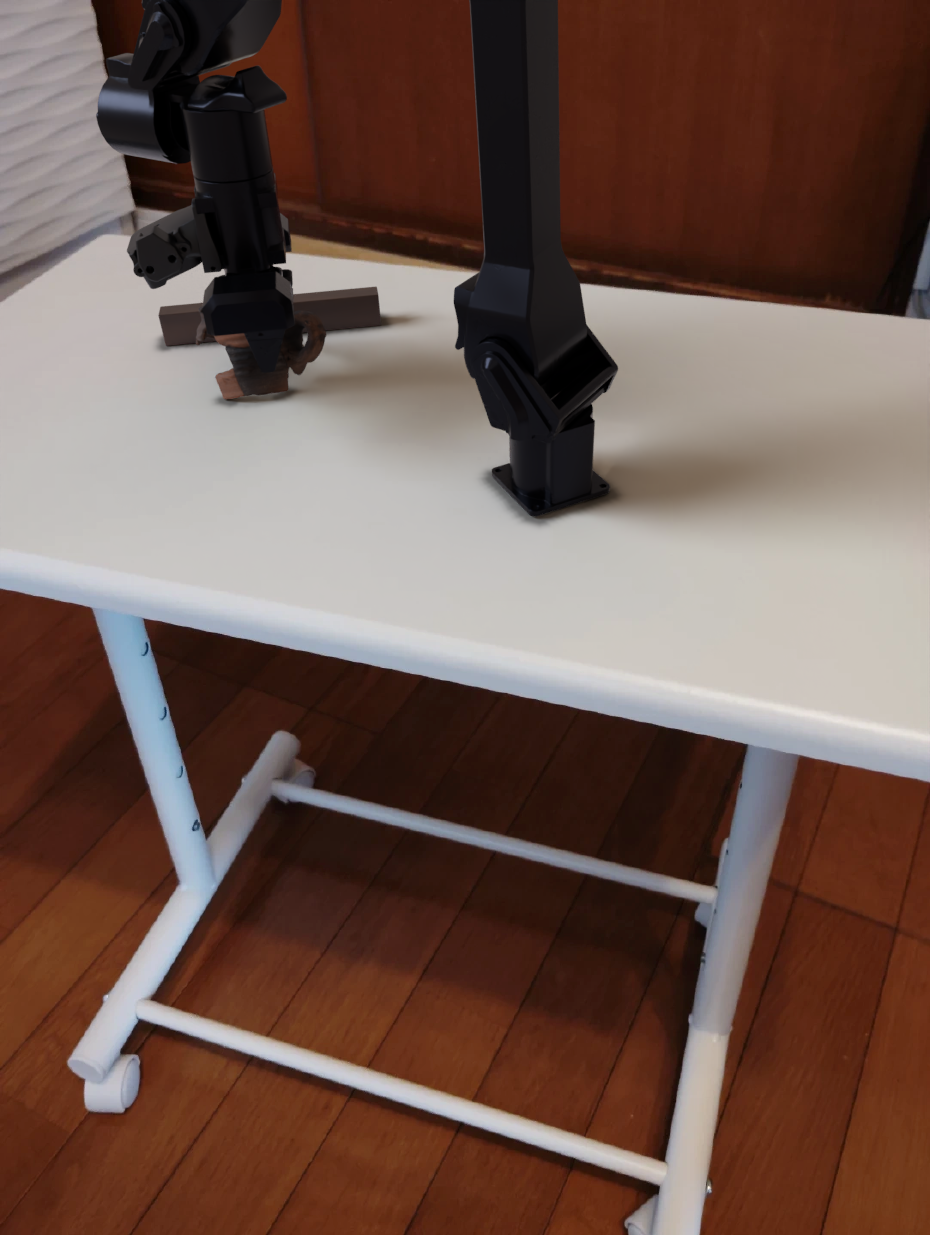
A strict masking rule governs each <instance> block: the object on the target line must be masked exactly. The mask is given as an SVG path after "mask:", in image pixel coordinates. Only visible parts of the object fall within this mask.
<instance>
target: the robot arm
mask: <svg viewBox="0 0 930 1235" xmlns="http://www.w3.org/2000/svg"><path fill="white" fill-rule="evenodd" d="M468 1H469V15H470V16H469V17H470V31H471V32H470V35H471V49H472V50H471V51H472V65H473V66H472V68H473V84H474V85H473V86H474V99H475V102H474V103H475V118H476V135H477V152H478V167H479V170H478V171H479V186H480V200H481V201H480V203H481V218H482V219H481V220H482V235H483V236H482V237H483V238H482V239H483V259H482V262H481V266H480V269H479V272H477V273H475V274H473V275H472V276H470V277H469V278H467V279H466V280H465V281H463V282H462V283H460V284H458V285H456V286H455V287H454V290H453V307H454V311H455V315H456V321H457V337H456V341H455V344H454V348H455V349H456V350H457V351H459V350H461V349H463V358H464V363H465V368H466V370H467V372H468V374H469V376H470V378H471V379H473V380H474V381H475V385H476V387H477V390H478V393H479V396H480V399H481V401H482V405H483V407H484V410H485V414H486V416H487V419H488V423H489V424H490V426H491V428H494V429H498V430H501V431H504V432H505V433H506V434H508V436H509V439H508V440H509V441H508V442H509V444H508V446H509V463H505V464H501V465H498V466H496V467H493V468H492V469H491V477H492V478H493V479H494V481H495V482H496V483H498V485H500V487H502V488H503V490H504V491H505V492H506V493H507V494H508V495H509V496H510V497H511V498H512V499H513V500H514V501H515V502H516V503H517V504H518V505H519V506H520V507H521V508H523V510H524V511H525V512H526V513H527V514H528V515H529V516H531V517H540V516H543V515H546V514H550V513H552V512H555V511H558V510H562V509H566V508H568V507H571V506H574V505H577V504H580V503H583V502H586V501H589V500H592V499H596V498H599V497H601V496H605V495H608V494H609V493H610V492H611V491H610V490H611V485H610V484H609V482H607V481H606V480H605V479H604V478H603V477H602V476H601V475H599V474H598V473H597V472H596V471H595V470H594V469H593V468H594V467H593V466H594V451H595V449H594V447H595V429H596V427H595V426H596V420H595V419H594V417H593V416H594V407H593V406H594V405H593V403H594V402H595V401H596V400H597V399H598V398H600V397H601V396H602V395H603V394H606V393H607V392H608V391H609V390H610V389H611V387H612V385H613V382H614V380H615V378H616V376H617V373H618V371H619V366H618V364H617V363H616V362H615V360H614V359H613V358H612V356H611V355H610V354H609V352H608V351H607V349H606V348H605V347H604V346H603V344H602V343H601V342H600V340H599V339H598V337H596V335H595V334H594V332H593V331H592V330H591V328H590V327H589V325H588V324H587V320H586V319H587V318H586V313H585V312H586V311H585V307H584V306H585V305H584V300H583V293H582V288H581V283H580V280H579V278H578V277H577V274H576V273H575V271H574V268H573V267H572V265H571V263H570V261H569V259H568V258H567V256H566V254H565V252H564V250H563V246H562V240H561V239H562V238H561V237H562V236H561V233H562V232H561V155H560V154H561V153H560V152H561V150H560V149H561V148H560V142H561V141H560V77H559V76H560V73H559V72H560V67H559V65H560V63H559V62H560V61H559V60H560V59H559V58H560V56H559V0H468ZM282 4H283V0H141V7H142V9H143V10H144V11H143V14H142V19H141V22H140V27H139V31H138V35H137V40H136V43H135V45H134V46H135V47H134V51H133V53H130V52H124V53H121V54H118V55H114V56H110V57H108V58H106V60H105V63H106V67H107V71H108V77H107V78H106V80H105V81H104V83H103V84H102V86H101V88H100V91H99V93H98V100H97V112H96V114H95V117H96V123H97V126H98V128H99V132H100V134H101V136H102V137H103V139H104V140H105V142H106V143H107V144H108V145H109V146H110V147H111V149H113V150H114V151H116V152H118V153H119V154H123V155H125V156H132V157H137V158H143V159H148V160H154V161H159V162H160V161H161V162H165V163H172V164H175V165H181V164H182V165H183V164H187V163H190V165H191V170H192V176H193V179H194V188H193V191H194V198H192V199H191V205H187V206H186V207H184V208H179V209H177V210H176V211H173V212H171V213H169V214H167V215H165V216H163V217H161V218H159V219H157V220H155V221H153V222H151V223H149V224H146V225H145V226H143V227H141V228H139V229H138V230H136V231H135V232H134V233H133V234H131V236H130V238H129V241H128V245H127V249H126V253H127V254H128V257H129V258H130V260H131V261H132V264H133V273H134V275H135V276H136V277H138V278H143V280H144V281H145V282H146V283H147V285H148V287H149V288H150V289H151V290H156V289H160V288H161V287H163V286H166V285H167V282H168V281H169V280H172V279H174V278H176V277H178V276H180V275H182V274H184V273H186V272H188V271H191V270H192V269H194V268H196V267H198V266H199V265H200V264H202V267H203V268H202V269H203V273H204V274H210V273H220V272H222V271H223V270H224V274H221V275H219V276H214V278H212V280H211V281H210V282H209V284H208V285H207V287H206V288H205V290H204V292H203V298H202V303H203V306H202V310H203V315H204V320H205V325H206V329H207V334H210V335H213V336H221V335H232V334H242V333H244V335H245V337H246V339H247V341H248V344H249V346H250V348H251V350H252V352H253V355H254V357H255V359H256V361H257V363H258V365H259V368H260V370H261V372H263V373H268V372H274V371H275V369H276V365H277V361H278V357H279V353H280V349H281V345H282V341H283V337H284V333H285V329H288V328H290V327H292V326H294V325H295V314H294V304H293V294H294V288H293V284H294V281H293V270H291V269H289V268H288V269H287V268H283V269H282V268H281V267H279V266H274V265H283V264H287V253H292V252H293V250H292V238H291V231H290V230H291V229H290V224H289V223H290V222H289V218H287V217H286V216H285V215H284V214H282V213H281V211H280V205H279V199H278V198H279V197H278V182H277V176H276V172H274V164H273V157H272V152H271V143H270V138H269V131H268V125H267V117H266V111H265V110H266V109H269V108H273V107H275V106H278V105H281V104H285V102H287V100H288V95H287V92H286V91H284V89H283V88H282V87H281V86H280V85H279V84H278V83H277V82H276V81H274V80H272V79H271V78H270V77H269V76H268V75H267V74H266V73H265V72H264V70H263V69H262V67H261V66H260V65H254V66H250V67H247V68H243V69H240V70H237V71H236V73H235V74H234V75H225V74H213V75H210V76H207V77H205V78H204V79H203V80H201V81H200V76H201V75H204V74H207V73H211V72H214V71H218V70H220V69H224V68H227V67H229V66H230V65H232V64H233V63H235V62H238V61H241V60H244V59H248V58H250V57H253V56H254V55H256V54H258V53H259V52H260V51H261V49H262V48H263V47H264V45H265V43H266V41H267V40H268V38H269V36H270V34H271V33H272V31H273V29H274V27H275V26H276V23H277V22H278V21H279V18H280V17H281V13H282V6H283V5H282Z"/></svg>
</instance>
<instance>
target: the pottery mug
mask: <svg viewBox="0 0 930 1235" xmlns="http://www.w3.org/2000/svg"><path fill="white" fill-rule="evenodd" d="M199 312H200V315H201V320H202V321H201V323H200V325H199V326H198V329H197V336H196V339H197V341H196V343H195V344H196V346H200V345H202V344H203V342H202V341H204V340H205V338H213V339H214V338H215V339H216V341H215V342H217V344H219V345H220V346H223V347H225V348H224V349H225V352H226V354H227V356H228V358H229V362H230V363H231V364H232V367H231V368H230V369H229V370H226V371H223V372H219V373H217V374H216V375H215V380H216V381H215V382H216V383H217V385H218V388H219V391H220V393H221V396H222V398H223V400H232V399H238V398H242V397H249V396H267V395H270V394H279V393H285V392H288V391H289V375H290V374H289V371H290V370H291V371H292V372H293V374H294V375H297V376H301V375H303V373H304V371H305V369H306V367H307V365H308V364H309V363H313V362H314V361H316V359H317V358H318V357H319V356H320V355H321V352H322V351H323V349H324V346H325V342H326V337H327V331H325V329H324V326H323V323H322V321H321V320H320V318H319V317H318V316H317V315H315V314H314V313H312V312H309V311H294V314H295V325H294V326H292V327H290V328H288V329H285V333H284V337H283V341H282V345H281V349H280V353H279V357H278V361H277V365H276V369H275V371H274V372H268V373H263V372H261V370H260V368H259V365H258V363H257V361H256V359H255V357H254V355H253V352H252V350H251V348H250V346H249V344H248V341H247V339H246V337H245V335H244V333H242V334H232V335H221V336H213V335H210V334H207V329H206V325H205V320H204V315H203V310H202V306H201V307H200V308H199ZM304 328H306V330H307V332H306V333H307V337H306V342H305V343H304V344H303V342H304V334H303V329H304Z"/></svg>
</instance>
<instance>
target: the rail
mask: <svg viewBox="0 0 930 1235" xmlns="http://www.w3.org/2000/svg"><path fill="white" fill-rule="evenodd" d="M293 304H294V311H309V312H312V313H314V314H315V315H317V316H318V317H319V318H320V320H321V321H322V323H323V326H324V329H325V332H327V331H335V330H346V329H356V328H357V329H358V328H367V327H379V326H382V319H381V308H380V298H379V291H378V287H377V286H367V287H366V286H365V287H356V288H344V289H335V290H334V289H333V290H322V291H314V292H304V293H303V292H301V293H293ZM201 306H203V302H195V303H186V304H185V303H184V304H176V305H175V304H173V305H162V306H160V307H159V311H158V314H157V315H158V318H159V319H158V320H159V324H160V328H161V332H162V337H163V340H164V345H165V346H166V347H167V346H178V345H179V346H180V345H189V344H190V345H191V344H196V341H197V339H196V336H197V329H198V326H199V325H200V323H201V321H202V320H201V315H200V312H199V308H200V307H201ZM303 333H307V330H306V328H304V329H303ZM209 342H217V341H216V339H215V338H214V339H213V338H205V340H204V341H202V343H209Z"/></svg>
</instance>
